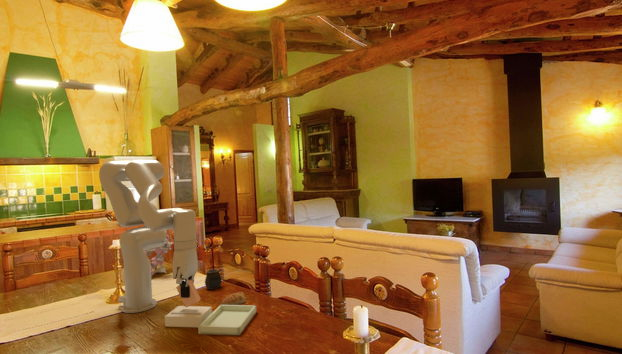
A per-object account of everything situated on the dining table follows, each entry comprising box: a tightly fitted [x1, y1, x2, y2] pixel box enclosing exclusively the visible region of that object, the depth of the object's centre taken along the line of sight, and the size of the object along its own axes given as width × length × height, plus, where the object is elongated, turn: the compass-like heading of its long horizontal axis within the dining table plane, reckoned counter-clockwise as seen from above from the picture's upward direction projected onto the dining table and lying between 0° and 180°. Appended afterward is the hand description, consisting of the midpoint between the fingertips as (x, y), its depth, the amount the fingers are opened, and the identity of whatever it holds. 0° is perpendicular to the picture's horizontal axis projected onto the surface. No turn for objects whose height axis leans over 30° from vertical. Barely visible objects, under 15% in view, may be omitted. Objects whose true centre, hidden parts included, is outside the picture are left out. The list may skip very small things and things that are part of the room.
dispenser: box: [164, 305, 213, 328], centre depth 123 cm, size 13×9×4 cm
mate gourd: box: [204, 268, 222, 290], centre depth 157 cm, size 7×8×10 cm
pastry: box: [220, 291, 247, 305], centre depth 138 cm, size 9×7×4 cm
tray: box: [197, 304, 257, 336], centre depth 120 cm, size 14×18×2 cm
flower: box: [144, 230, 174, 277], centre depth 180 cm, size 20×22×25 cm
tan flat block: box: [175, 279, 201, 307], centre depth 123 cm, size 5×2×8 cm, turn 82°
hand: (187, 295), depth 123 cm, fingers closed on tan flat block, 2 cm apart
